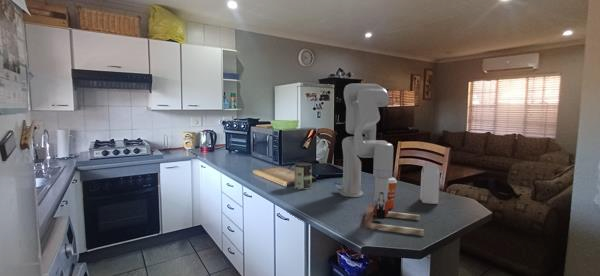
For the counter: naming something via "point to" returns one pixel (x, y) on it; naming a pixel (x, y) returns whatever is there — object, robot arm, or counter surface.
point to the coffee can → (303, 175)
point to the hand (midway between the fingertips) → (380, 215)
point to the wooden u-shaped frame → (389, 227)
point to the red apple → (377, 207)
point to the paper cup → (391, 193)
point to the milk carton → (430, 184)
